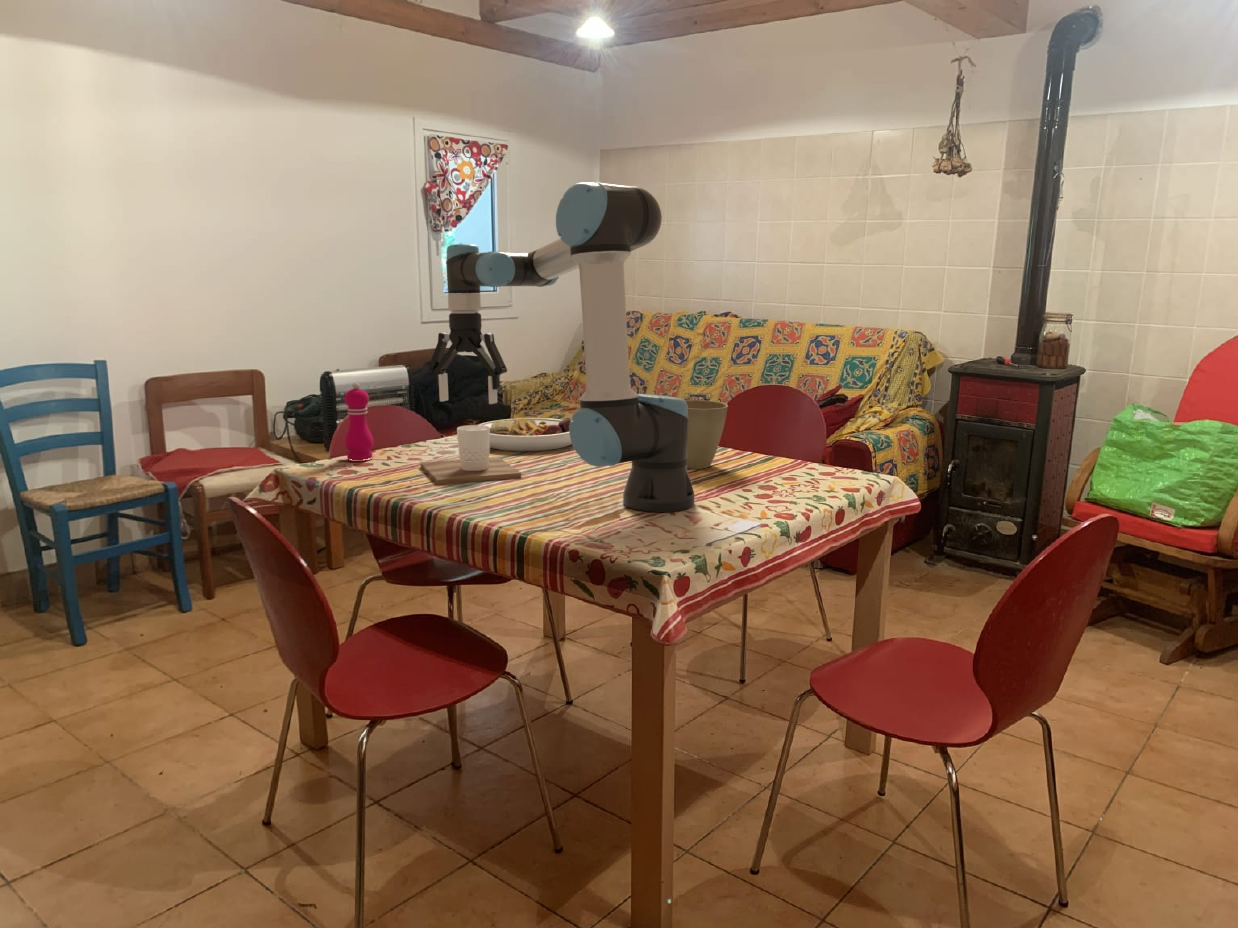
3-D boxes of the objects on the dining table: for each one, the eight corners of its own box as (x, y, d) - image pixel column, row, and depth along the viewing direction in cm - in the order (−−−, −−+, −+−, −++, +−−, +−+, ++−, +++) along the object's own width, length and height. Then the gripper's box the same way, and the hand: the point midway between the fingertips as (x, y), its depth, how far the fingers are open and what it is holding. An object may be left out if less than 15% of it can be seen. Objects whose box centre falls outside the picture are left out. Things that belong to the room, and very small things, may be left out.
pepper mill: (367, 462, 227) (363, 384, 223) (340, 461, 228) (335, 384, 224) (379, 457, 234) (375, 381, 230) (353, 456, 235) (348, 380, 231)
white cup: (485, 472, 212) (484, 431, 210) (453, 471, 213) (452, 430, 211) (495, 465, 219) (494, 425, 217) (464, 464, 220) (463, 424, 218)
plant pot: (669, 472, 218) (670, 408, 215) (664, 460, 233) (665, 399, 229) (730, 472, 219) (732, 408, 215) (721, 460, 233) (723, 400, 230)
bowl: (456, 450, 246) (455, 422, 244) (502, 432, 274) (501, 406, 272) (558, 457, 237) (557, 428, 236) (594, 437, 265) (594, 411, 264)
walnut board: (521, 477, 212) (521, 472, 212) (437, 484, 204) (437, 479, 204) (498, 461, 230) (498, 456, 230) (420, 467, 222) (420, 462, 222)
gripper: (519, 312, 208) (522, 402, 212) (428, 311, 217) (432, 397, 221) (503, 313, 201) (506, 406, 205) (410, 312, 210) (415, 401, 214)
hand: (468, 402), depth 213 cm, fingers open, 13 cm apart
